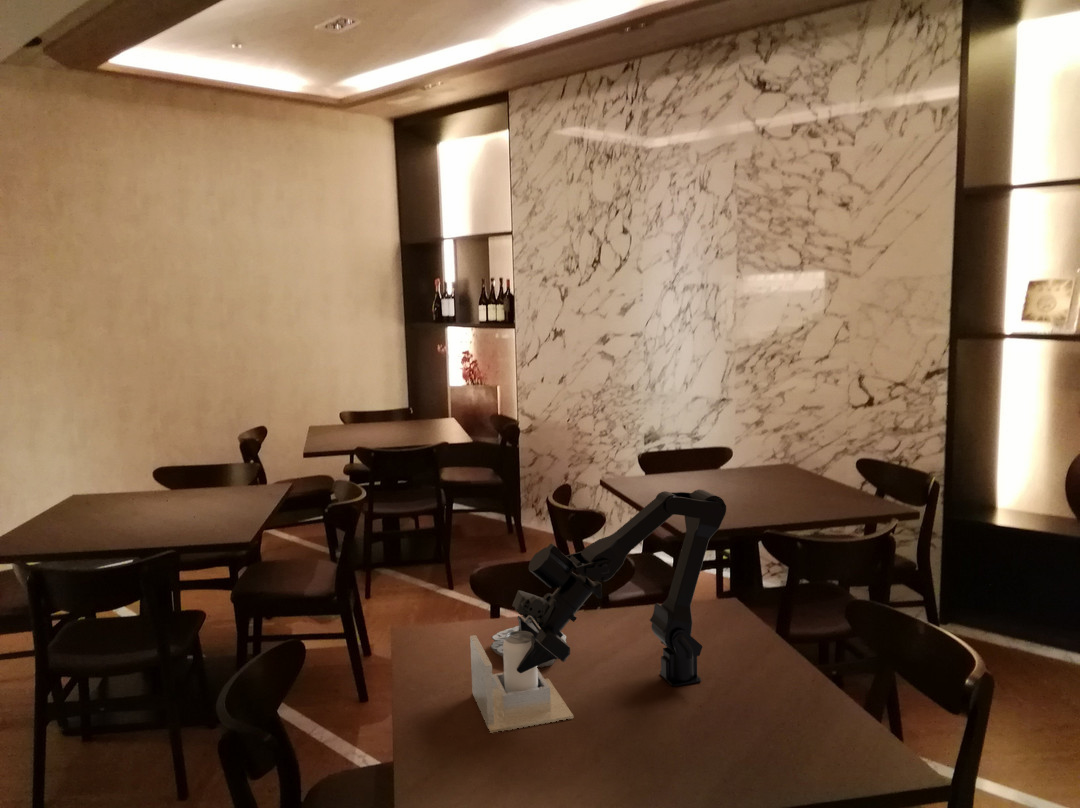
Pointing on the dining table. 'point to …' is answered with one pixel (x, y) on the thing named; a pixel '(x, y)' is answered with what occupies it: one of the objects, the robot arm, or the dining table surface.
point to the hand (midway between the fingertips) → (513, 664)
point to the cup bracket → (512, 697)
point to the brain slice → (500, 639)
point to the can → (518, 662)
